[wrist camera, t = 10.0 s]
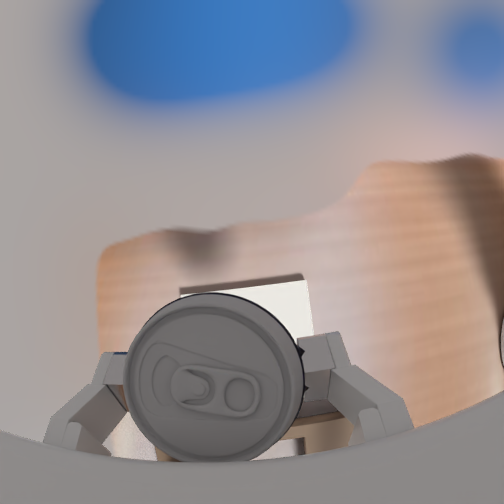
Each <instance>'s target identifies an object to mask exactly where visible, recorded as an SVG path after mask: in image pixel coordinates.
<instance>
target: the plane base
mask: <svg viewBox="0 0 504 504" xmlns="http://www.w3.org/2000/svg"><path fill="white" fill-rule="evenodd" d="M353 429H354V425H353V424H352V423H351V422H350V421H349V420H348V419H347V418H346V417H345V416H344V415H343V414H342V413H341V412H340V411H338V412H332V413H327V414H321V415H316V416H310V417H303V418H296V419H295V421H294V423H293V424H292V426H291V427H290V429H289V430H288V431H287V432H286V434H285V435H284V436H283V437H282V438H281V439H280V440H287V439H294V438H301V437H303V442H304V452H305V454H312V453H318V452H323V451H329V450H334V449H339V448H344V447H348V446H349V445H348V443H349V440H350V437H351V435H352V432H353ZM155 450H156V454H157V459H158V461H166V462H181V461H179V460H177V459H175V458H173V457H171V456H169V455H167V454H166V453H164V452H163V451H161V450H160V449H158V448H157V447H156V446H155Z"/></svg>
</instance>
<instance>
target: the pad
mask: <svg viewBox="0 0 504 504" xmlns="http://www.w3.org/2000/svg"><path fill="white" fill-rule="evenodd" d="M212 292H219V293H227V294H232V295H236V296H240V297H243V298H246V299H248V300H250V301H253V302H255V303H257V304H258V305H260V306H262V307H263V308H265V309H266V310H268V311H269V312H270V313H272V314H273V315H274V316H275V317H276V318H277V319H278V320H279V321H280V322H281V323H282V324H283V325H284V326H285V327H286V329H287V330H288V331H289V333H290V334H291V336H292V337H293V339H294V341H295V343H296V345H297V338H300V337H306V336H312V335H314V331H313V323H312V316H311V308H310V301H309V294H308V287H307V280H301V281H294V282H286V283H279V284H271V285H263V286H255V287H247V288H238V289H230V290H221V291H212ZM203 293H205V292H203ZM194 294H197V293H194ZM188 295H192V294H185V295H181V298H182V297H185V296H188Z"/></svg>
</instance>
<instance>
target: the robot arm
mask: <svg viewBox="0 0 504 504" xmlns="http://www.w3.org/2000/svg"><path fill="white" fill-rule="evenodd" d="M297 347H298V349H299V351H300V354H301V357H302V361H303V365H304V375H305V392H304V402H309V401H316V400H323V399H328V401H329V402H330V403H331V404H332V405H333V406H334V407H335V408H336V409H337V410H339V411H340V412H341V413H342V414H343V415H344V416H345V417H346V418H347V419H348V420H349V421H350V422H351V423H352V424H353V425H354V429H353V432H352V435H351V437H350V440H349V443H348V445H349V446H348V447H344V448H339V449H334V450H329V451H323V452H318V453H312V454H305V455H299V456H291V457H283V458H275V459H265V460H253V461H237V462H166V461H150V460H139V459H129V458H121V457H113V456H111V453H110V451H109V450H108V449H107V448H105V447H104V446H103V445H102V443H103V442H104V441H105V439H106V438H107V437H108V436H109V435H110V433H111V432H112V431H113V430H114V428H115V427H116V426H117V424H118V423H119V422H120V421H121V419H122V418H123V417H124V416H125V414H126V413H127V412H129V409H128V407H127V404H126V400H125V396H124V389H123V368H124V364H125V359H126V356H127V353H128V352H104V353H103V354H102V355H101V358H100V360H99V363H98V366H97V369H96V371H95V374H94V377H93V380H92V383H91V384H88V385H86V386H85V387H84V388H83V389H82V390H81V391H80V392H79V393H77V395H75V396H74V397H73V398H72V399H71V400H70V401H69V402H68V403H66V404H65V405H64V406H63V407H62V408H61V409H60V410H59V411H58V412H56V413H55V414H54V415H53V416H52V417H51V419H50V422H49V425H48V428H47V431H46V434H45V437H44V440H43V443H42V442H38V441H35V440H31V439H28V438H24V437H21V436H18V435H14V434H11V433H8V432H5V431H2V430H0V504H504V390H503V391H502V392H500V393H498V394H496V395H494V396H492V397H490V398H488V399H486V400H483V401H481V402H479V403H477V404H475V405H473V406H470V407H468V408H466V409H464V410H461V411H459V412H456V413H454V414H452V415H449V416H447V417H444V418H441V419H439V420H436V421H434V422H431V423H428V424H425V425H422V426H419V427H417V428H414V426H413V423H412V421H411V418H410V415H409V413H408V410H407V408H406V405H405V403H404V400H403V398H401V397H400V396H398V395H397V394H396V393H394V392H393V391H391V390H390V389H388V388H387V387H386V386H384V385H383V384H381V383H380V382H379V381H377V380H376V379H374V378H373V377H372V376H370V375H369V374H367V373H366V372H365V371H363V370H362V369H360V368H359V367H358V366H356V365H351V363H350V360H349V357H348V354H347V352H346V349H345V346H344V343H343V340H342V337H341V335H340V333H339V332H338V331H337V332H331V333H325V334H318V335H312V336H306V337H300V338H297ZM501 352H502V360H503V365H504V319H503V325H502V333H501Z"/></svg>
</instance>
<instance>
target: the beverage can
mask: <svg viewBox="0 0 504 504" xmlns="http://www.w3.org/2000/svg"><path fill="white" fill-rule="evenodd" d="M123 389H124V396H125V400H126V404H127V407H128V409H129V412H130V414H131V416H132V418H133V420H134V422H135V423H136V425H137V426H138V428H139V430H140V431H141V432H142V433H143V434H144V436H145V437H146V438H147V439H148V440H149V441H150V442H151V443H152V444H153V445H155V446H156V447H157V448H158V449H160V450H161V451H163V452H164V453H166V454H167V455H169V456H171V457H173V458H175V459H177V460H179V461H181V462H237V461H249V460H251V459H254V458H256V457H258V456H259V455H261V454H262V453H264V452H265V451H266V450H268V449H269V448H270V447H271V446H272V445H274V444H275V443H276V442H277V441H279V440H280V439H281V438H282V437H283V436H284V435H285V434H286V432H287V431H288V430H289V429H290V427H291V426H292V424H293V423H294V421H295V419H296V417H297V415H298V413H299V411H300V408H301V405H302V402H303V397H304V392H305V375H304V365H303V361H302V357H301V354H300V351H299V349H298V347H297V345H296V343H295V341H294V339H293V337H292V336H291V334H290V333H289V331H288V330H287V329H286V327H285V326H284V325H283V324H282V323H281V322H280V321H279V320H278V319H277V318H276V317H275V316H274V315H273V314H272V313H270V312H269V311H268V310H266V309H265V308H263V307H262V306H260V305H258V304H257V303H255V302H253V301H250V300H248V299H246V298H243V297H240V296H236V295H232V294H227V293H219V292H205V293H197V294H192V295H188V296H185V297H182V298H179V299H177V300H175V301H173V302H171V303H169V304H167V305H165V306H164V307H162V308H161V309H160V310H158V311H157V312H156V313H155V314H154V315H153V316H152V317H151V318H150V319H149V320H148V321H147V322H146V323H145V325H144V326H143V328H142V329H141V330H140V332H139V333H138V334H137V335H136V337H135V339H134V340H133V342H132V344H131V346H130V348H129V350H128V353H127V356H126V359H125V364H124V368H123Z"/></svg>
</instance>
